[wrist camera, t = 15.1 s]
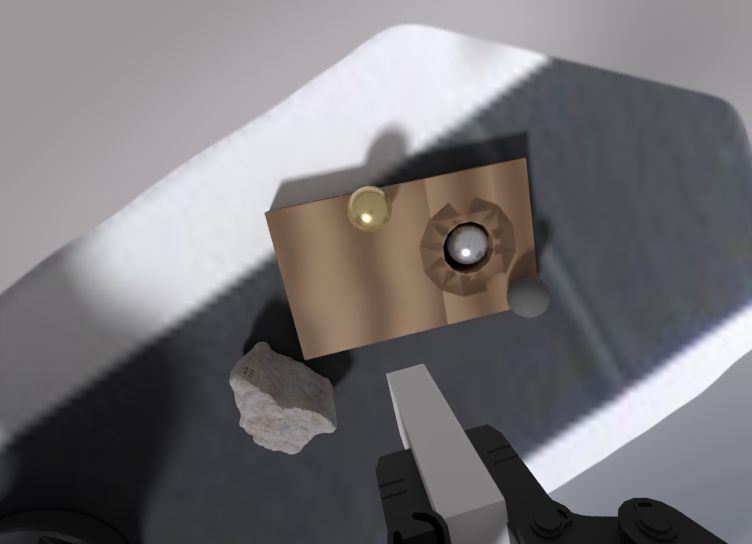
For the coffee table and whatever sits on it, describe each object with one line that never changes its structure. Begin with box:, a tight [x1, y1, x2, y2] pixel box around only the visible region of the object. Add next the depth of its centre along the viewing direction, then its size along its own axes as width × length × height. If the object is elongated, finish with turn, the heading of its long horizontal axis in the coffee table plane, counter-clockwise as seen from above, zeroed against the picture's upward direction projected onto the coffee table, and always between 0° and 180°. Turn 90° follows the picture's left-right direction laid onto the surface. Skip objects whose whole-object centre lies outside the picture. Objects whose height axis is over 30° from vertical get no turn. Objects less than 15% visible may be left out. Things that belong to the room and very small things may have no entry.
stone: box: [229, 342, 337, 454], centre depth 33 cm, size 10×8×6 cm
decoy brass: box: [347, 186, 392, 232], centre depth 29 cm, size 4×4×4 cm
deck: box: [265, 158, 538, 360], centre depth 33 cm, size 22×13×2 cm, turn 101°
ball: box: [447, 224, 488, 264], centre depth 33 cm, size 4×4×4 cm
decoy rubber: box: [507, 277, 550, 317], centre depth 32 cm, size 4×4×4 cm
